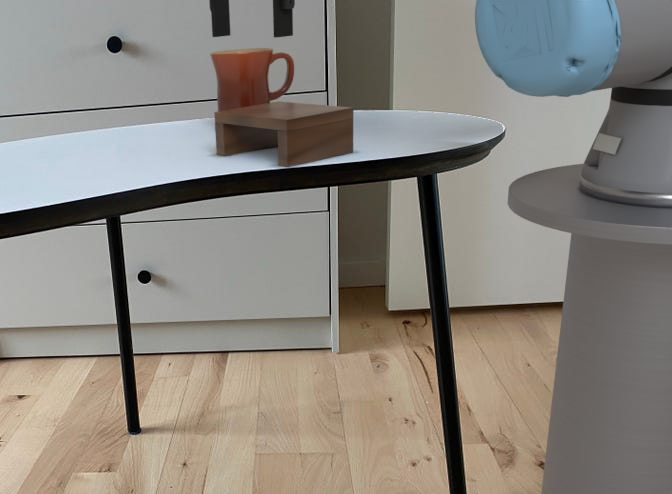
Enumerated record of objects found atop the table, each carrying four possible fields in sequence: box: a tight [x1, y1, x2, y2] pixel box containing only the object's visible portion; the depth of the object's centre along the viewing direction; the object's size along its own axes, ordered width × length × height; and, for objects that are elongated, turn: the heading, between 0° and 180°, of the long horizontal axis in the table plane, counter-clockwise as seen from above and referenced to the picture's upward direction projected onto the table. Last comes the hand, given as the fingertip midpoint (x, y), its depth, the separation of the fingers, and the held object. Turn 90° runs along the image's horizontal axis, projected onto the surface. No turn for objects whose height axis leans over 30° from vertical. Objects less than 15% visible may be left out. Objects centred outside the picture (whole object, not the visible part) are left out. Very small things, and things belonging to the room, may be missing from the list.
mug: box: [209, 47, 295, 112], centre depth 118 cm, size 12×9×10 cm
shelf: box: [214, 101, 354, 168], centre depth 97 cm, size 13×10×5 cm
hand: (251, 36), depth 115 cm, fingers open, 13 cm apart
